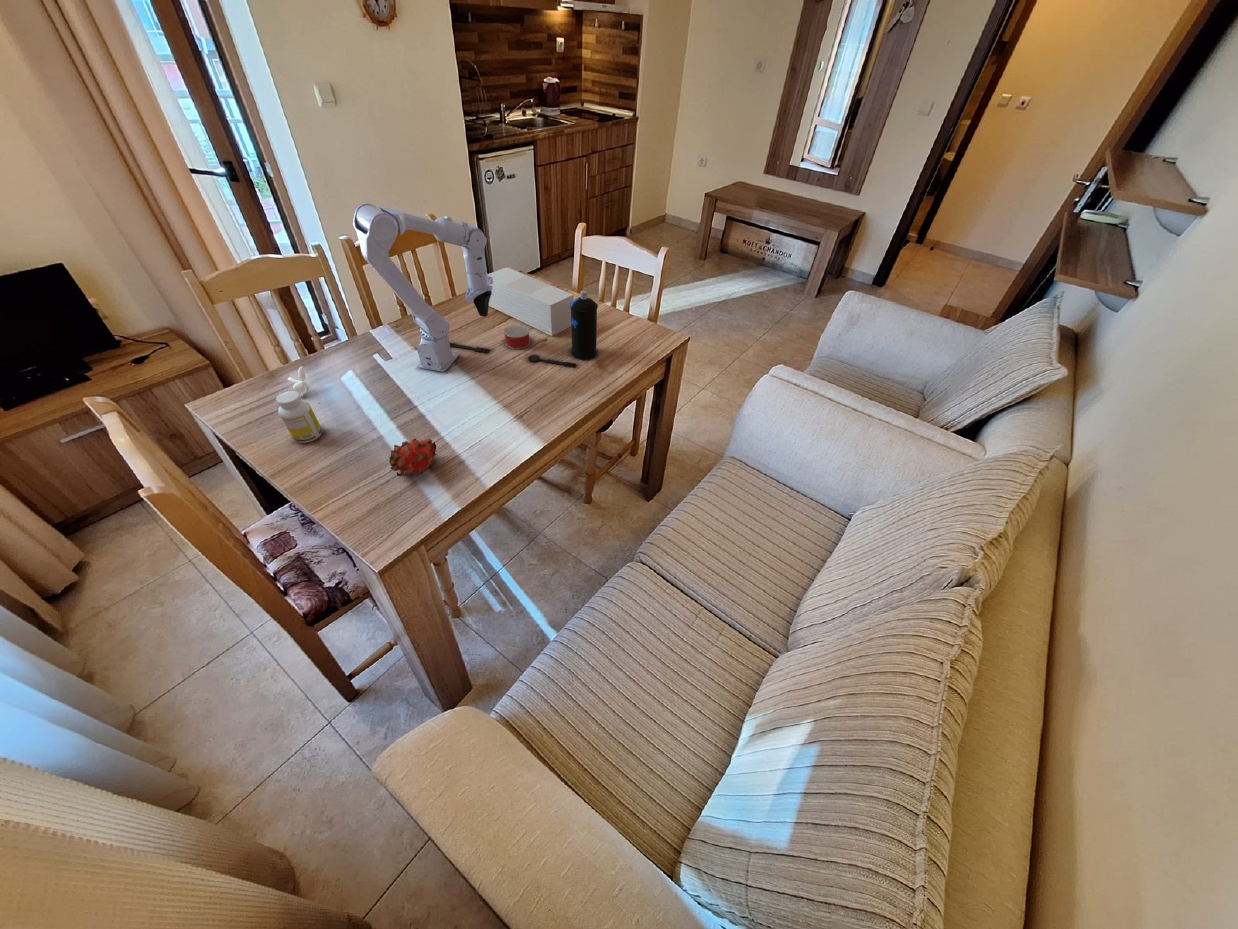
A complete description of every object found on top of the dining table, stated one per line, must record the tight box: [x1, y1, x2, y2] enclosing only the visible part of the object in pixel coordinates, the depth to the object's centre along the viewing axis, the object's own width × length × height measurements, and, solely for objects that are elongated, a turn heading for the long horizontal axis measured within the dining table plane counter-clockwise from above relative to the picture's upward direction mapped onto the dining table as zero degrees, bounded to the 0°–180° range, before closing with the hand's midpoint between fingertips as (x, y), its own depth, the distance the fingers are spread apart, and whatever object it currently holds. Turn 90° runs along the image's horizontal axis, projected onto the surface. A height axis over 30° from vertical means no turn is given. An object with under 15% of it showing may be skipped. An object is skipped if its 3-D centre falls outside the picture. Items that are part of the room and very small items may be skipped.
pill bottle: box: [275, 390, 323, 444], centre depth 113 cm, size 6×6×12 cm
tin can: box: [503, 324, 531, 350], centre depth 151 cm, size 8×8×4 cm
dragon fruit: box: [388, 437, 437, 477], centre depth 108 cm, size 8×8×12 cm
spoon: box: [527, 354, 577, 368], centre depth 145 cm, size 4×15×1 cm, turn 77°
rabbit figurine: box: [287, 365, 309, 397], centre depth 128 cm, size 6×4×8 cm
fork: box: [449, 342, 491, 354], centre depth 149 cm, size 2×15×1 cm, turn 77°
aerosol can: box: [570, 289, 599, 361], centre depth 143 cm, size 8×8×20 cm
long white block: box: [487, 266, 575, 337], centre depth 163 cm, size 32×11×11 cm, turn 51°
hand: (483, 315), depth 145 cm, fingers closed
